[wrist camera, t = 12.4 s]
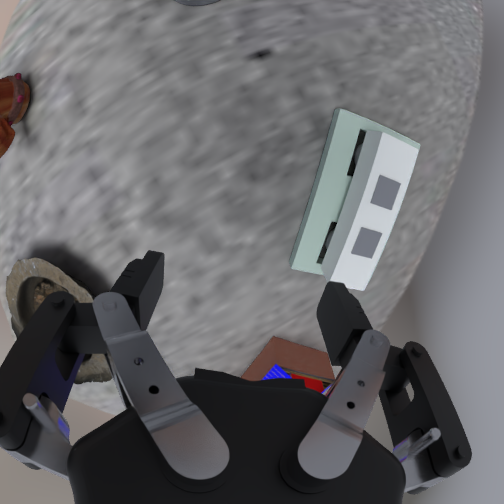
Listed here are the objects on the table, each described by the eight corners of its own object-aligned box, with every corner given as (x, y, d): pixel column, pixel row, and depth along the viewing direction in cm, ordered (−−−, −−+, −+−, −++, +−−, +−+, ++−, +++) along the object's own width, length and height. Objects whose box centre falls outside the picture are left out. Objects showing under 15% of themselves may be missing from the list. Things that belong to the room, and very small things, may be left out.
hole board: (335, 108, 28) (340, 108, 26) (412, 142, 30) (420, 144, 28) (289, 261, 37) (291, 268, 35) (363, 276, 38) (368, 283, 37)
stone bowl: (77, 363, 47) (60, 391, 39) (13, 269, 39) (-14, 290, 30) (157, 344, 43) (140, 382, 35) (77, 216, 35) (39, 237, 26)
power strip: (357, 129, 29) (383, 132, 23) (389, 143, 30) (419, 149, 23) (315, 256, 37) (328, 285, 30) (346, 263, 37) (364, 291, 31)
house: (329, 351, 46) (345, 402, 35) (274, 405, 53) (278, 449, 43) (272, 333, 43) (278, 390, 33) (224, 393, 51) (222, 441, 40)
